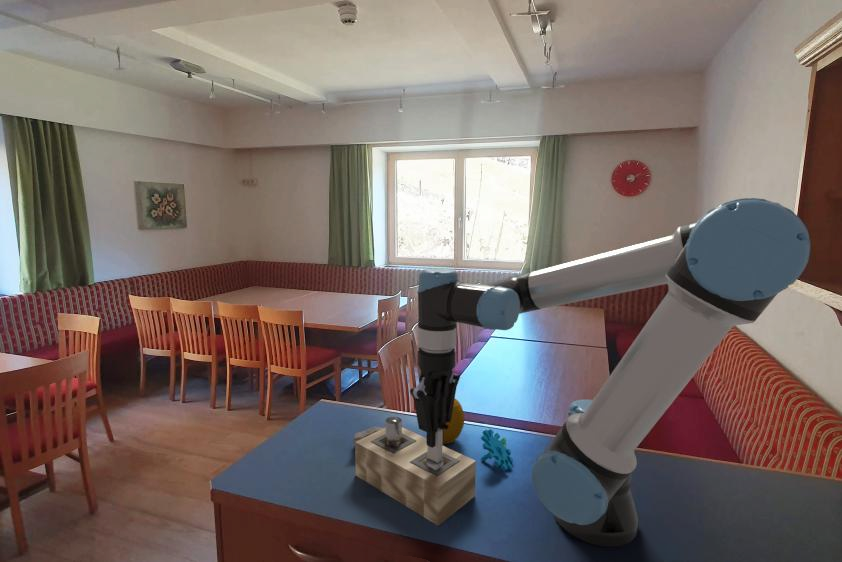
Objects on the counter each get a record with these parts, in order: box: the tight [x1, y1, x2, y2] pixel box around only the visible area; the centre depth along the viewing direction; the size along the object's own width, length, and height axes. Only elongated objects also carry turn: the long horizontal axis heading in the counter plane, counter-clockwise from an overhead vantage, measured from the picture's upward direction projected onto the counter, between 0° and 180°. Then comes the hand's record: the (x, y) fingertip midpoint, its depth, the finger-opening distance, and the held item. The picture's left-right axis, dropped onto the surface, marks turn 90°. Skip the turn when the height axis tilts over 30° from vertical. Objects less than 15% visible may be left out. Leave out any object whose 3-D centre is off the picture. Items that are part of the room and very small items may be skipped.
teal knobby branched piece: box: [480, 428, 514, 472], centre depth 106 cm, size 11×6×10 cm
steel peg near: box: [426, 458, 444, 470], centre depth 92 cm, size 4×4×8 cm
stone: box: [352, 426, 384, 446], centre depth 111 cm, size 10×8×6 cm
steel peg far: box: [384, 416, 403, 449], centre depth 99 cm, size 4×4×8 cm
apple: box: [442, 398, 466, 445], centre depth 115 cm, size 10×10×12 cm
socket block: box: [354, 426, 477, 526], centre depth 96 cm, size 24×12×8 cm, turn 48°
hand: (434, 458), depth 91 cm, fingers closed
